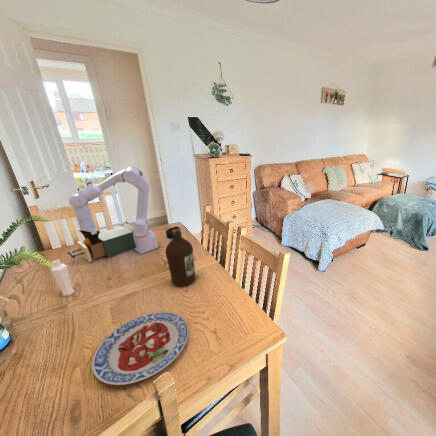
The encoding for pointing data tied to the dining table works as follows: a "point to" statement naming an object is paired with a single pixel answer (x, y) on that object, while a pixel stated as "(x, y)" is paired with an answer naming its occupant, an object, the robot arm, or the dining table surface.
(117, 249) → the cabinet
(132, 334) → the ceramic plate
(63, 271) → the perfume bottle
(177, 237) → the brown bottle
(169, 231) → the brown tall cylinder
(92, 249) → the drawer
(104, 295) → the dining table surface
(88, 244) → the orange
